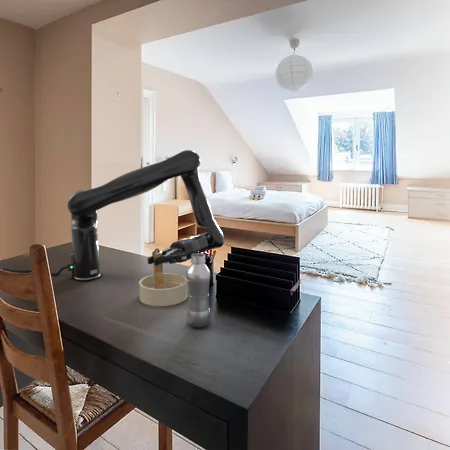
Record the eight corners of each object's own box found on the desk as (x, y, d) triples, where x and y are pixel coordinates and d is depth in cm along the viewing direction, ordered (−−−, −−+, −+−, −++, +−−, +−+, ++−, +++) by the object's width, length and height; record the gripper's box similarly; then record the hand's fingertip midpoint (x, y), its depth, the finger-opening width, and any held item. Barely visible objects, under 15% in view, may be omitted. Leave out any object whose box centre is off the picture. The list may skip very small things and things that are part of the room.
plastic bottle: (207, 331, 94) (207, 259, 90) (183, 328, 95) (182, 257, 92) (213, 320, 100) (213, 252, 97) (190, 318, 102) (189, 251, 98)
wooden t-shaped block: (150, 294, 115) (149, 253, 113) (155, 291, 117) (154, 251, 115) (162, 297, 113) (161, 255, 110) (167, 295, 115) (166, 253, 112)
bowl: (131, 305, 110) (130, 287, 109) (150, 288, 125) (150, 271, 124) (179, 310, 107) (179, 291, 106) (193, 291, 122) (192, 274, 121)
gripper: (170, 236, 128) (135, 247, 113) (201, 241, 121) (168, 253, 106) (170, 256, 129) (136, 269, 114) (201, 262, 122) (169, 277, 107)
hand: (151, 261), depth 110 cm, fingers closed on wooden t-shaped block, 2 cm apart
